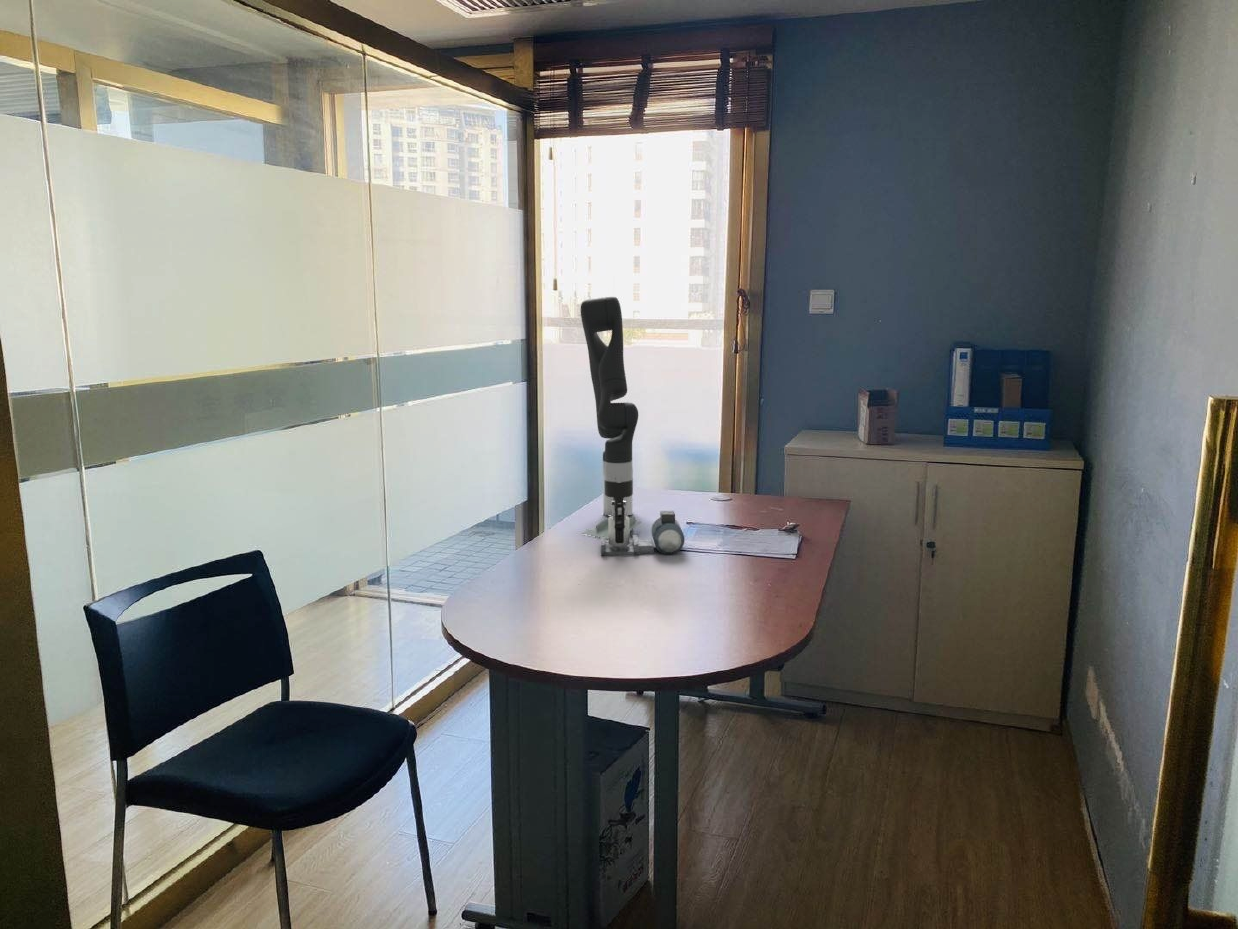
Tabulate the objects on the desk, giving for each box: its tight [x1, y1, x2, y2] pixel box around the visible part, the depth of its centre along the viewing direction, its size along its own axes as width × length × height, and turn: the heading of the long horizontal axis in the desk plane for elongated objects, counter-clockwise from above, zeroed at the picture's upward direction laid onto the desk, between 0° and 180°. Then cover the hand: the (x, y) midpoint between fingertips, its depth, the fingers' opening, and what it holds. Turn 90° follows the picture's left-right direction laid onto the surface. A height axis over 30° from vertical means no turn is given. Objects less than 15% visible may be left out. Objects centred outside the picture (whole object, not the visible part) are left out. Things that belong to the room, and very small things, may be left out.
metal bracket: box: [581, 514, 642, 541], centre depth 256 cm, size 14×6×15 cm
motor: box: [600, 510, 686, 557], centre depth 238 cm, size 11×22×10 cm, turn 92°
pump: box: [607, 516, 631, 546], centre depth 238 cm, size 6×6×9 cm
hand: (619, 539), depth 238 cm, fingers closed on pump, 5 cm apart
